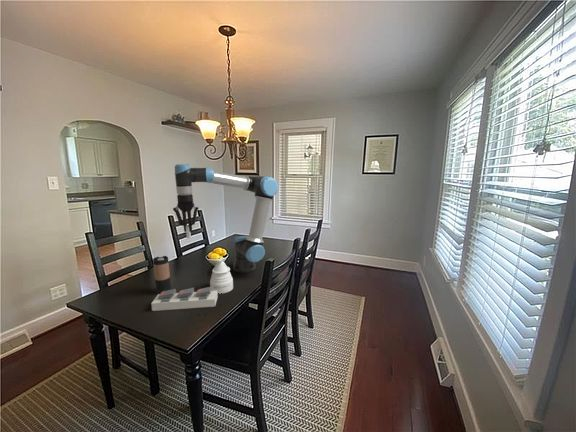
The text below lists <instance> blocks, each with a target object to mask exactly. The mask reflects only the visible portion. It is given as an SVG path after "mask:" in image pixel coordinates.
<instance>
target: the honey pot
mask: <svg viewBox="0 0 576 432" xmlns="http://www.w3.org/2000/svg"><path fill="white" fill-rule="evenodd" d="M230 271H231V268H230V267H229V266H227V264H226V263H225V262H224V261H223V259H217V262H216V264H215V266H214V268H212V271H211V272H212V273H211V277H210V280H209V287H212V291H217V295H219V294H220V295H221V293H222V294H226V293H229V292H231V291H232V290H233V289H234V279H233V276H232V274H231V272H230ZM218 293H219V294H218Z"/></svg>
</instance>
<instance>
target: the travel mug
mask: <svg viewBox="0 0 576 432" xmlns="http://www.w3.org/2000/svg"><path fill="white" fill-rule="evenodd" d="M152 263H153V264H152V265H153V275H154V282H155V289H156V290H155V291H156V293H157V295H158V294H161V292H163V291H167V290H172V287H171V283H172V282H171V273H170V272H171V271H170V265H169V264H170V263H169V257H168V256H167V255H163V256H156V257H154V258H152Z"/></svg>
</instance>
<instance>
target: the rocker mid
mask: <svg viewBox="0 0 576 432" xmlns="http://www.w3.org/2000/svg"><path fill="white" fill-rule="evenodd" d="M193 292H195V287H189V288H186V289H181V290H179V292H177V293H178V295H177V296H178V298H181V297H186V296H190V295H192V294H193Z"/></svg>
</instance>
